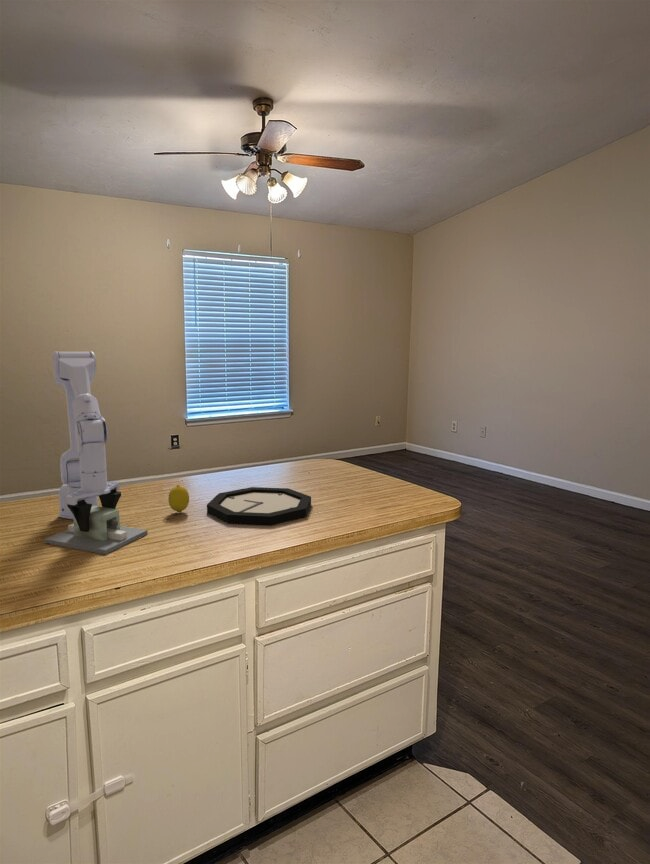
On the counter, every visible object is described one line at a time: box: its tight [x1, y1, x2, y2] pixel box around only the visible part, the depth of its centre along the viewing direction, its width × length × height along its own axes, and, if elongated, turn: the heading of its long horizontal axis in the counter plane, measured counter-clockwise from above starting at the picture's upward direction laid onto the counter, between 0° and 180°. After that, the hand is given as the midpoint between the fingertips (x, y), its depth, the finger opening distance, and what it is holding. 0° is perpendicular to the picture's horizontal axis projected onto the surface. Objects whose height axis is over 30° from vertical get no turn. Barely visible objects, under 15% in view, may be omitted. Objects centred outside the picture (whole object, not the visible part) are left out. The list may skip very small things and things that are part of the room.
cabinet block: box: [72, 505, 121, 541], centre depth 127 cm, size 10×5×6 cm, turn 69°
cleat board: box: [44, 522, 148, 555], centre depth 127 cm, size 18×14×2 cm
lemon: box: [168, 484, 190, 514], centre depth 147 cm, size 6×6×8 cm
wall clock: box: [206, 486, 312, 527], centre depth 152 cm, size 30×3×30 cm
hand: (96, 526), depth 127 cm, fingers open, 7 cm apart
